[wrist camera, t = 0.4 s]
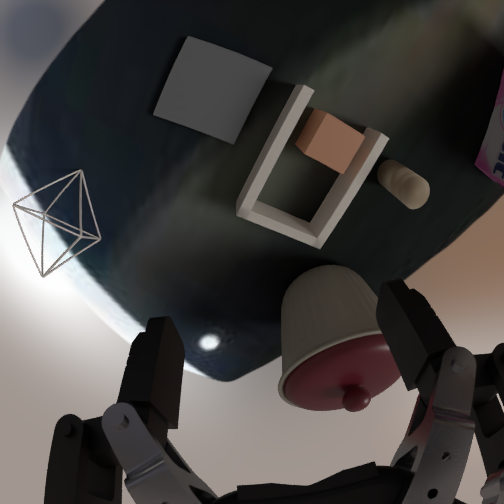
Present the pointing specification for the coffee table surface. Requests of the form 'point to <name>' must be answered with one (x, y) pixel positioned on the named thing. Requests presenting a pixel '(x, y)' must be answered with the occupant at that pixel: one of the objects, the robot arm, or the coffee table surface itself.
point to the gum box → (494, 142)
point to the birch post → (403, 183)
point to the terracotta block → (329, 140)
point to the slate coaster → (211, 89)
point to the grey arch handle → (335, 198)
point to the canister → (332, 342)
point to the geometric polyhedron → (60, 221)
